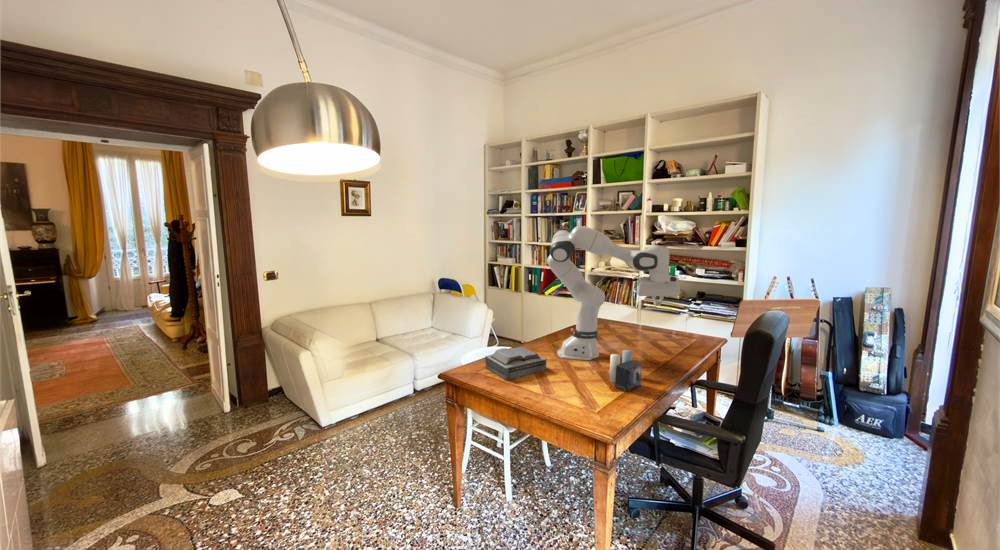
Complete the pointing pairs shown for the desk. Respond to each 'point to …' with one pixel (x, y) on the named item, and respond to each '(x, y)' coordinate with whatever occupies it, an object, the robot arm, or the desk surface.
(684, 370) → the desk surface
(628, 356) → the slate post
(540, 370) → the bible
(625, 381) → the small box
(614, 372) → the cream post
